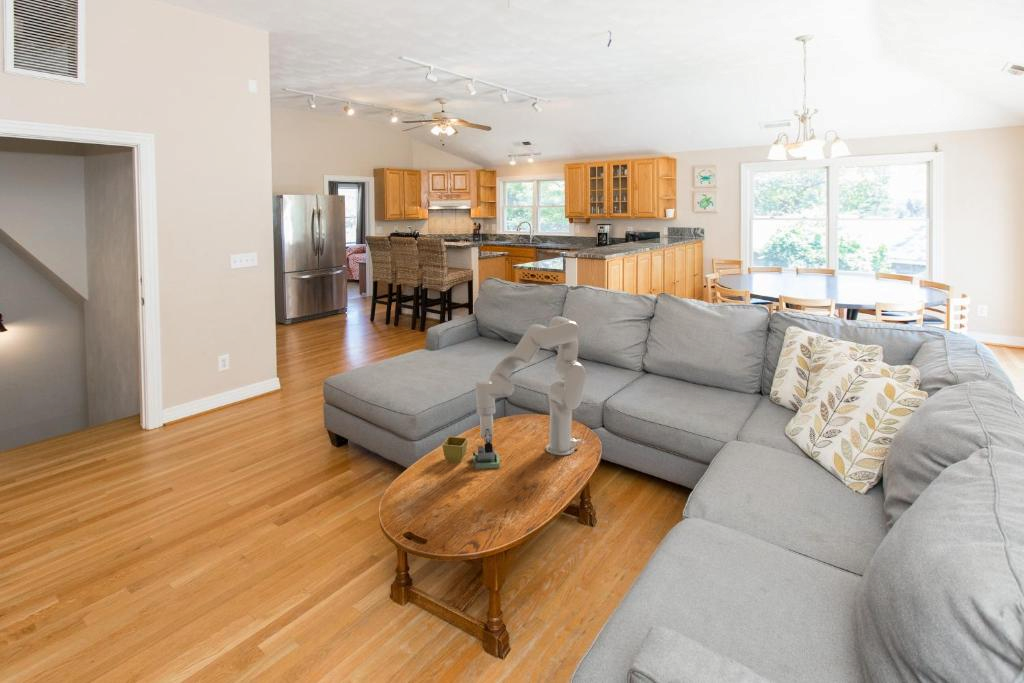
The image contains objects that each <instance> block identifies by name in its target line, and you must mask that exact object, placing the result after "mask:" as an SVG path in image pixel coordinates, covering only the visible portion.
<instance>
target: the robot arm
mask: <svg viewBox="0 0 1024 683" xmlns="http://www.w3.org/2000/svg"><path fill="white" fill-rule="evenodd" d="M579 334H580V327H579V324H577V322H575V321H573V320H571V319H569V318H566V317H563V316H559V315H557V316H554V317H552V318H551V319H550V321H549V327H548V326H544V325H542V324H537V323H534V324H532V325H530V326H529V327H528V329H527V330H526V331H525V333H524V334H523V335H522V337H521V339H520V341H518V343H517V345H516V346H515V348H514V349H513V351H512V352H511V353H509V354H507V356H505V357H504V358H503V359H501V361H500V362H499V363H498V364H496V367H495V368H494V370H492V372H491V374H490V375H489V378H482V379H479V380H477V381H476V383H475V397H476V398H475V399H476V414H477V415H479V422H480V424H479V425H480V438H481V439H484V440H483V441H484V448H485V453H491V452H493V437H494V416H493V415H494V414H496V401H495V400H496V399H495V398H506V397H507V398H508V397H509V396H512V394H513V393H514V391H515V384H513V382H512V381H511V380H510V379H509V377H510V375H511V374H512V373H513V372H514V371H515V370H516V369H518V368H520V367H523V366H527V365H529V364H530V363H531V362H532V360H533V359H534V357H535V356H536V354H537V353H538V351H539V350H540V348H541V349H551V348H554V347H558V350H557V356H556V361H555V362H556V363H555V367H554V371H555V375H556V376H557V377H558V378H560V379H561V380H555V381H553V382H552V383H551V384H550V386H549V389H548V401H549V443H548V444H546V446H545V450H546V452H547V453H548V454H551V455H555V456H568V455H571V454H573V453H574V451H575V447H574V446H575V445H579V444H581V439H575V438H572V418H573V417H572V415H573V410H575V409H577V408H578V407H579V406H580V405H581V402H582V400H583V396H584V395H583V394H584V390H585V384H586V378H587V375H586V374H587V373H586V369H585V367H584V366H583V364H581V363H580V362H578V356H579V355H578V354H579V340H578V337H579Z"/></svg>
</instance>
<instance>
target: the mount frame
mask: <svg viewBox="0 0 1024 683" xmlns="http://www.w3.org/2000/svg"><path fill="white" fill-rule="evenodd" d="M495 459H496V460H495V463H478V462H476V460H478V453H476V451H472V469H475V470H476V469H499V468H501V467H500V454H499V453H498V452H495Z"/></svg>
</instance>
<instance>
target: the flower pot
mask: <svg viewBox="0 0 1024 683" xmlns="http://www.w3.org/2000/svg"><path fill="white" fill-rule="evenodd" d="M467 447H468V438H467V437H460V436H459V437H457V436H448V437H447V438H446V439H445V441H444V442H443V443H442V451H443V455H444V459H445V460H446V461H447V462H448V463H451V464H453V463H454V464H461V463H462V460H463V459H464V457H465V455H466V451H467V449H468V448H467Z"/></svg>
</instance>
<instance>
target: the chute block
mask: <svg viewBox="0 0 1024 683" xmlns="http://www.w3.org/2000/svg"><path fill="white" fill-rule="evenodd" d="M492 447H493V446H492ZM495 453H496V452H495V446H494V447H493V452H491V453H485V447H484V445H477V454H478V459H477V463H495V462H496V460H495Z"/></svg>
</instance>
